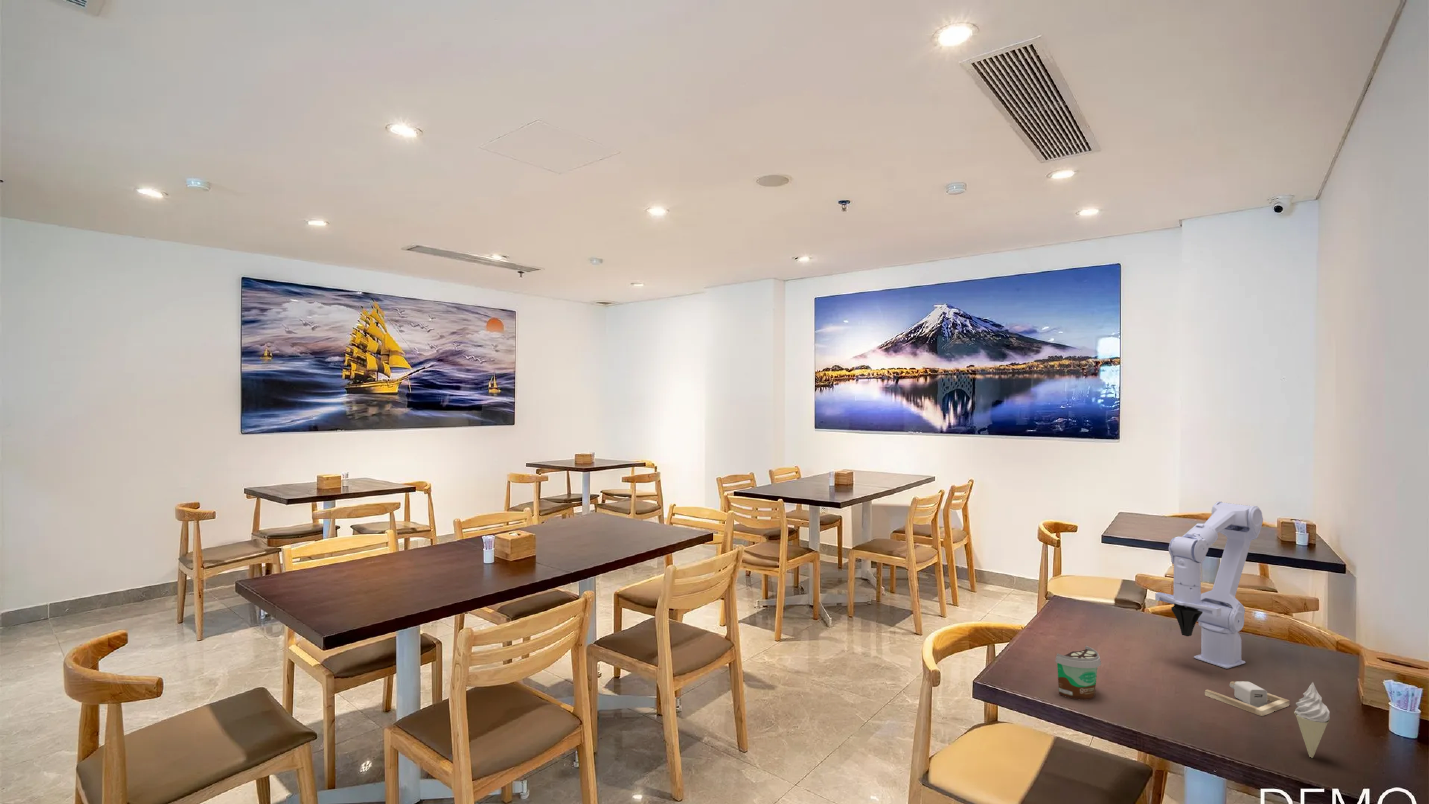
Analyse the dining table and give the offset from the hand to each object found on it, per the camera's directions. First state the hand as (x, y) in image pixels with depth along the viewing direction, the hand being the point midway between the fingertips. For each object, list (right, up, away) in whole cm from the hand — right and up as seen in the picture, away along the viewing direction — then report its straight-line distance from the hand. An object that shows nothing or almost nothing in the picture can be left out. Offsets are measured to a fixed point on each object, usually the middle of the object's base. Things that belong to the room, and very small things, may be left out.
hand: (1186, 635), depth 164 cm
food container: (-36, -9, -15) cm, 40 cm away
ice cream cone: (-6, -9, -41) cm, 42 cm away
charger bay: (+1, -9, -16) cm, 19 cm away
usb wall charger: (+2, -10, -16) cm, 19 cm away
